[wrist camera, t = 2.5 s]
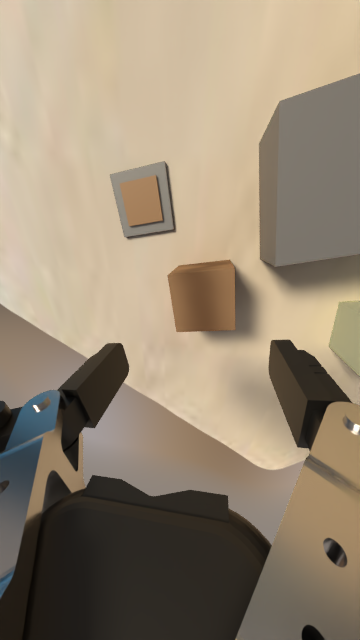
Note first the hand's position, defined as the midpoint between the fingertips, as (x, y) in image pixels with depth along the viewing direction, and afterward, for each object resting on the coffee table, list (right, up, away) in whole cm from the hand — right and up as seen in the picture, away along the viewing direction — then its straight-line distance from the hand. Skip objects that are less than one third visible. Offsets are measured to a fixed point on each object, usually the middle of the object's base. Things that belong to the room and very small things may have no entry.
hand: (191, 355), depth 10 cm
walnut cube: (+3, +6, +13) cm, 14 cm away
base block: (+12, +14, +7) cm, 20 cm away
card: (-5, +15, +10) cm, 18 cm away
